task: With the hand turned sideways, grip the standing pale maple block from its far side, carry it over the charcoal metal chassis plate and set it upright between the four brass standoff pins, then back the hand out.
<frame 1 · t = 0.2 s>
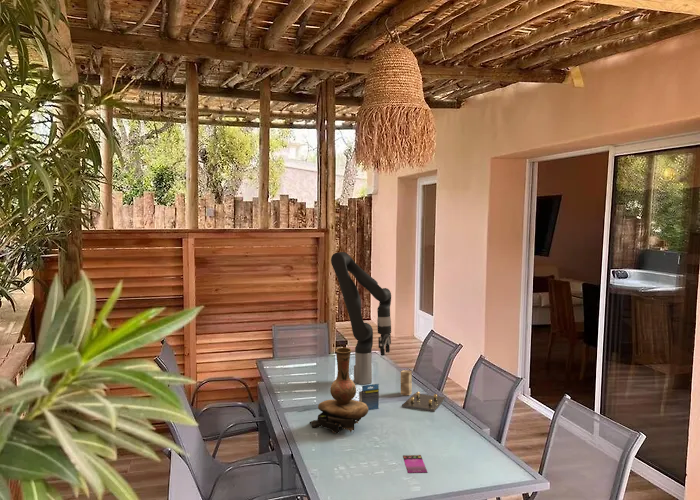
hand: (385, 353, 303), 17 cm above the table, tool pointing down, fingers open, 8 cm apart
smartphone: (414, 465, 203), on the table
chassis: (424, 403, 272), on the table
label tape box: (369, 409, 264), on the table
vase: (339, 427, 241), on the table
maple block: (406, 394, 287), on the table
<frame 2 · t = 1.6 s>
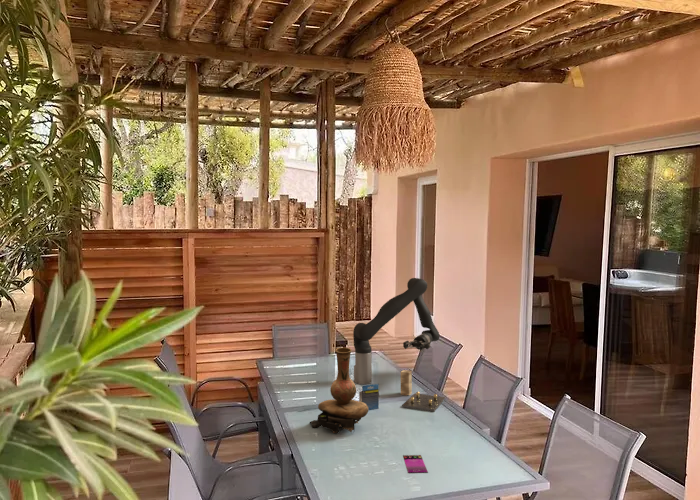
hand: (412, 347, 296), 22 cm above the table, tool horizontal, fingers open, 8 cm apart
nothing on the table moved.
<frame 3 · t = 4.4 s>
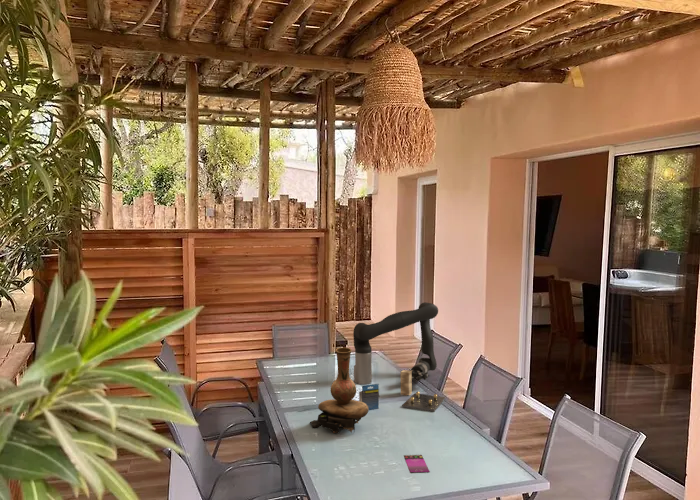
hand: (410, 378, 293), 7 cm above the table, tool horizontal, fingers open, 8 cm apart
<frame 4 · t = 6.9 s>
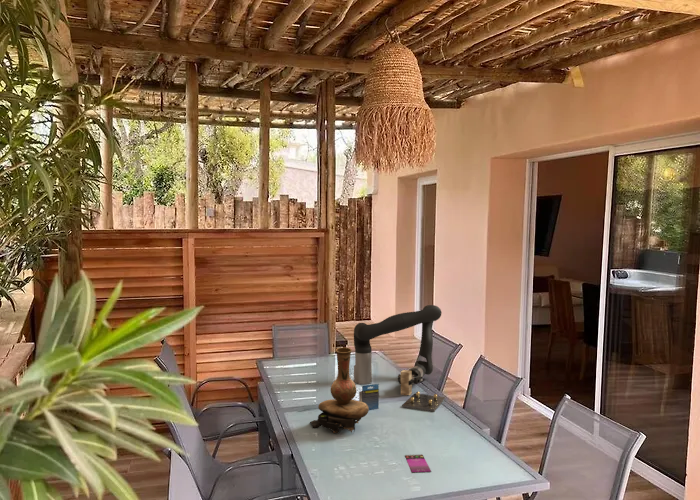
hand: (404, 382, 284), 7 cm above the table, tool horizontal, fingers closed on maple block, 4 cm apart
maple block: (406, 394, 287), on the table, touching gripper
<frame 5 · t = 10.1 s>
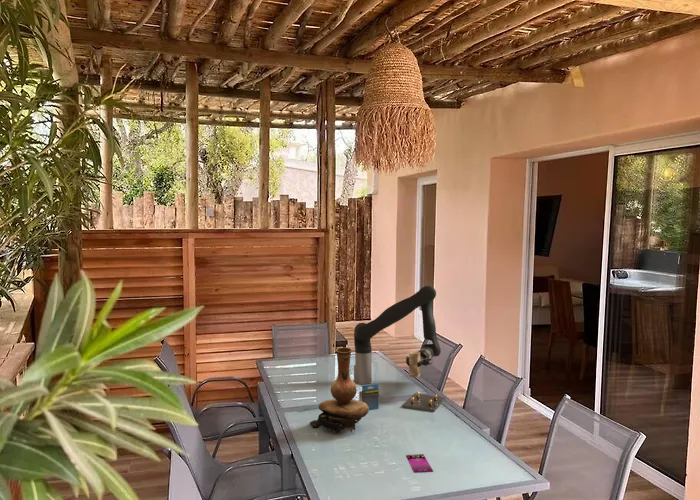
hand: (413, 364, 277), 18 cm above the table, tool horizontal, fingers closed on maple block, 4 cm apart
maple block: (414, 376, 280), point 11 cm above the table, touching gripper
when the fingers open (9 cm above the table, at t = 13.3 s): maple block drops 1 cm, resting on chassis.
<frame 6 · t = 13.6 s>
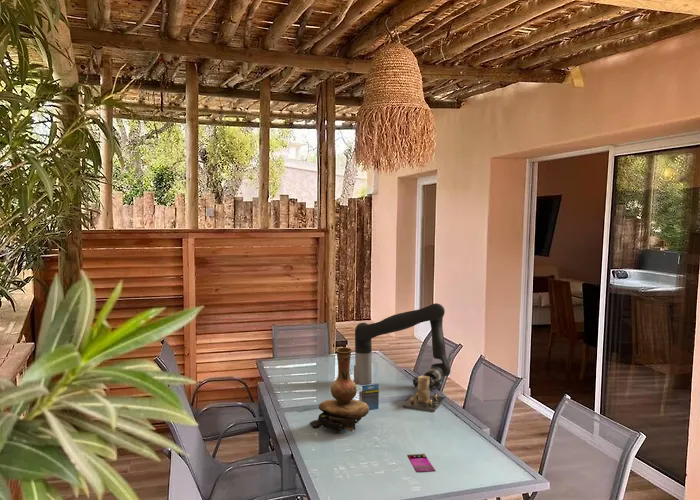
hand: (422, 386, 269), 9 cm above the table, tool horizontal, fingers open, 6 cm apart
maple block: (423, 400, 272), point 1 cm above the table, touching chassis
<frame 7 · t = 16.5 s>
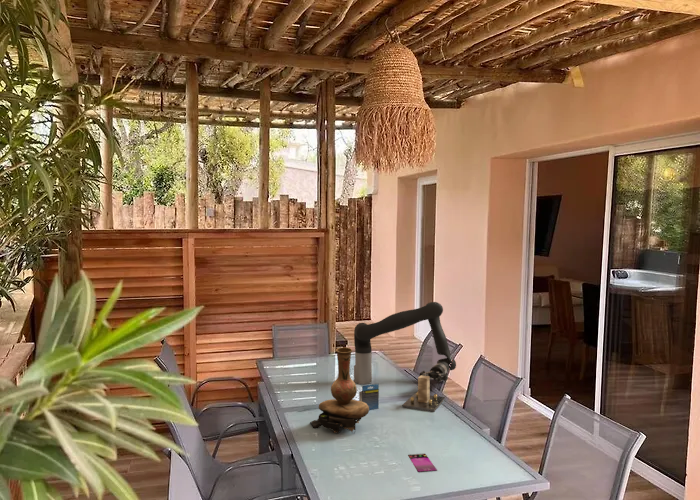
hand: (429, 379, 281), 9 cm above the table, tool horizontal, fingers open, 8 cm apart
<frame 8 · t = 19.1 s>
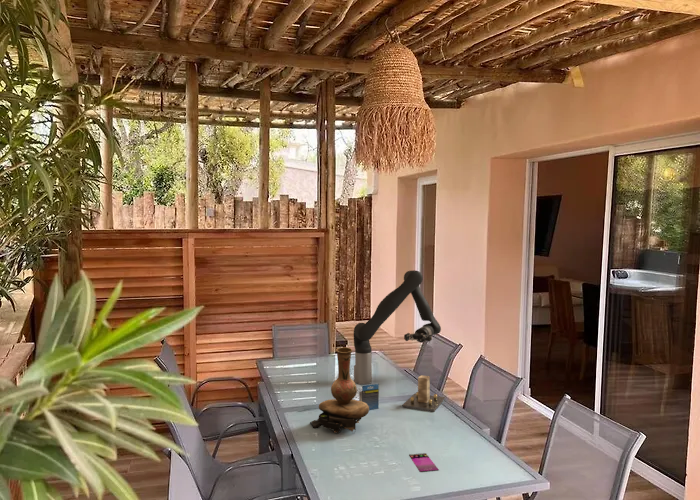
hand: (414, 339, 288), 28 cm above the table, tool horizontal, fingers open, 8 cm apart
at the end: maple block 0.1 cm off-centre on the chassis, point 1.2 cm above the chassis's base; maple block tilted 0°; the gripper is holding nothing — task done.
